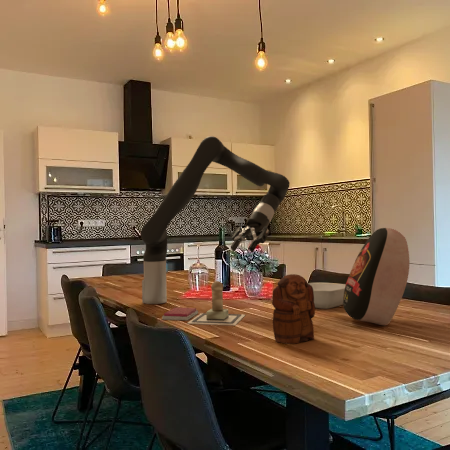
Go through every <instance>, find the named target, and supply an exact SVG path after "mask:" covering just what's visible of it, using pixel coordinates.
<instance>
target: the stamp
mask: <svg viewBox="0 0 450 450" xmlns="http://www.w3.org/2000/svg"><path fill="white" fill-rule="evenodd" d="M210 289H211V306H212V307H211V308H210V309H209V310H207V311H206V312H205V313H206V316H207V320H219V321H224V320H225V319H227V318H228V314H229V309H228V308H224V304H223V303H224V300H223V299H224V293H223V289H224V285H223V283H222V282H221V281H219V280H215V281H213V282H212V284H211V285H210Z"/></svg>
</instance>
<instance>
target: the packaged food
mask: <svg viewBox="0 0 450 450" xmlns="http://www.w3.org/2000/svg"><path fill="white" fill-rule="evenodd" d="M410 262H411V261H410V251H409V245H408V240H407V238H406V237H405V236H404V235H403V234H402V233H401V232H399V231H398V230H396V229H394V228H390V227H382V228H378V229H376V230H375V231H374V232H373V233H371V235H370V236H369V237H368V239H367V240H366V241H365V243H364V244H363V246H362V247H361V249H360V251H359V252H358V255H357V257H356V258H355V261H354V263H353V265H352V268H351V270H350V273H349V274H348V277H347V280H346V282H345V284H346V286H345V290H344V297H343V305H342V306H343V310H344V312H345V313H346V314H347V315H348V316H349V317H350V318H351V319H354V320H356V321H358V322H359V321H361V322H367V323H371V324H374V325H378V326H379V325H380V326H387V325H388V324H390V322H391V321H392V319H393V318H394V316H395V315H396V311H397V310H398V308H399V306H400V302H401V300H402V298H403V295H404V293H405V289H406V287H407V283H408V279H409V273H410Z"/></svg>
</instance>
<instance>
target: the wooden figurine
mask: <svg viewBox="0 0 450 450" xmlns="http://www.w3.org/2000/svg"><path fill="white" fill-rule="evenodd" d="M308 283H309V282H308V281H307V280H306V279H305V277H303V276H302V275H299V274H296V273H295V274H293V273H291V274H286V275H284V276H283V277H281V279H280V280H279V281H278V282H277V286H275V287H274V289H273V290H272V301H271V303H272V306H273V308H274V310H273V314H272V316H273V317H272V328H273V331H272V332H273V337H274V340H275V342H276V343H280V344H281V343H282V344H287V345H288V344H290V345H291V344H293V345H294V344H296V345H297V344H299V343H304V342H309V340H315V333H314V332H315V329H314V324H313V319H314V317H315V314H316V308H315V304H314V292H313V287H312V286H311V285H310V284H308Z"/></svg>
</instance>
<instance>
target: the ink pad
mask: <svg viewBox="0 0 450 450" xmlns="http://www.w3.org/2000/svg"><path fill="white" fill-rule="evenodd" d="M198 315H199V310H198V309H197V308H196V307H174V308H172V309H169V310H167V311H166V312H164V313H163V315H162V317H161V320H163V321H164V320H165V321H190V319H191V320H192V319H193V317H194V318H195V317H196V316H198Z"/></svg>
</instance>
